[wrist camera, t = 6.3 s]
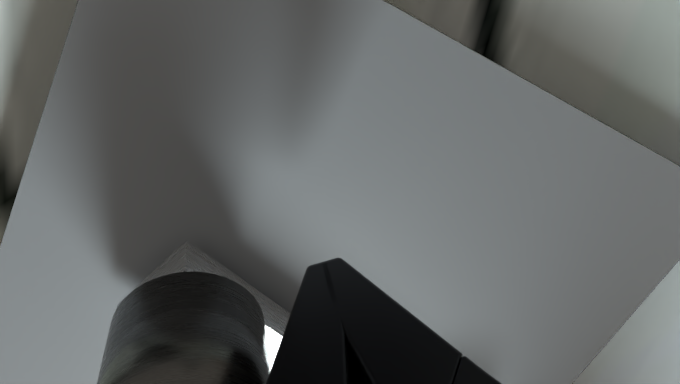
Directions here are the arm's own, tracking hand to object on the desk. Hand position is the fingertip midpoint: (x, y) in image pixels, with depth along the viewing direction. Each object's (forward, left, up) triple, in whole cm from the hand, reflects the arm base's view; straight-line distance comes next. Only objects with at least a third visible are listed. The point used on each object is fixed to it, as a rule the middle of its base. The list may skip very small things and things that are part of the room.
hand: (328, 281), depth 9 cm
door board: (-2, +7, -4) cm, 8 cm away
